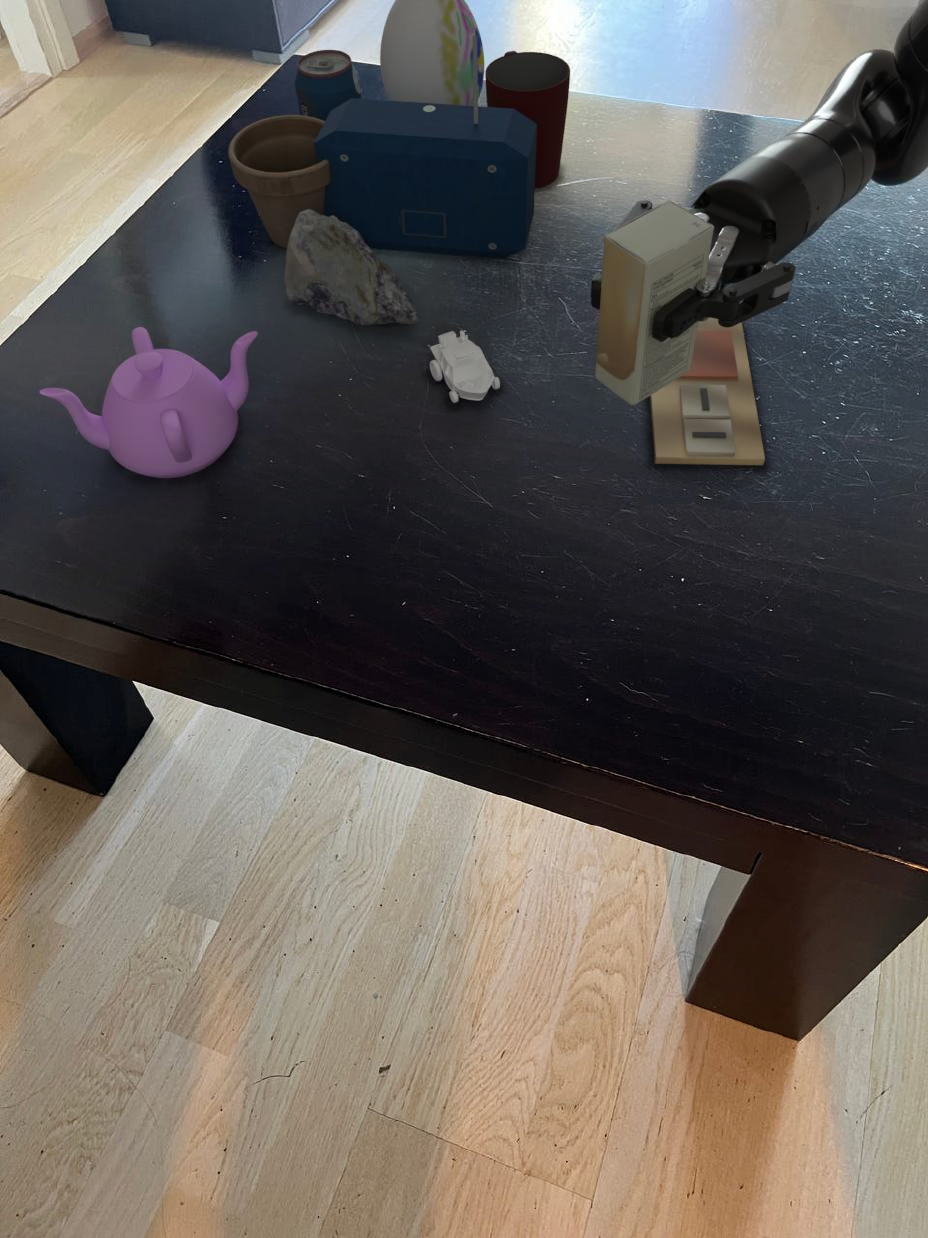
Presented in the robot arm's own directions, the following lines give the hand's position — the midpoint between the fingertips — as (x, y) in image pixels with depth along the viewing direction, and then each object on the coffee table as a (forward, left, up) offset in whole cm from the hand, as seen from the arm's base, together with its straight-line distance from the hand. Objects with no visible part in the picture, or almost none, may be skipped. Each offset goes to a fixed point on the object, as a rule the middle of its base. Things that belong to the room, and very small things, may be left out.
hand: (626, 312), depth 66 cm
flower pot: (+32, -37, -17) cm, 52 cm away
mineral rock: (+24, -23, -17) cm, 38 cm away
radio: (+18, -37, -17) cm, 45 cm away
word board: (-9, -13, -17) cm, 23 cm away
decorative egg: (+19, -63, -17) cm, 68 cm away
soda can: (+29, -50, -17) cm, 61 cm away
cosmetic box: (-2, -2, -7) cm, 8 cm away
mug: (+8, -51, -17) cm, 55 cm away
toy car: (+12, -13, -17) cm, 25 cm away
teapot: (+37, -5, -17) cm, 42 cm away
